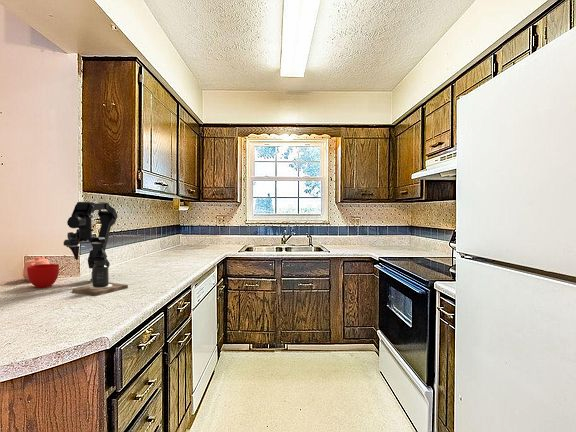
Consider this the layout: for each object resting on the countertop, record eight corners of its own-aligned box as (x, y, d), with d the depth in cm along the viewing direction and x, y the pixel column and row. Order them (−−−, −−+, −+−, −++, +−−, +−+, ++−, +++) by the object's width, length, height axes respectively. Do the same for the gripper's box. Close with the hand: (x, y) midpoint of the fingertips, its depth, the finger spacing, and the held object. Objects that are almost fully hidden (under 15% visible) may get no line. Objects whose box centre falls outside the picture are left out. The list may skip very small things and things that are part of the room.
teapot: (44, 282, 192) (44, 258, 192) (17, 283, 189) (17, 259, 189) (56, 275, 212) (55, 254, 211) (31, 276, 208) (31, 254, 208)
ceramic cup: (50, 281, 194) (50, 262, 194) (63, 286, 183) (63, 265, 183) (21, 285, 184) (20, 265, 184) (32, 290, 173) (32, 269, 173)
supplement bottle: (111, 284, 178) (111, 259, 178) (103, 287, 172) (103, 261, 171) (98, 284, 179) (97, 259, 179) (89, 287, 172) (88, 261, 172)
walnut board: (105, 284, 187) (104, 281, 186) (127, 287, 179) (127, 284, 179) (72, 291, 171) (72, 287, 171) (95, 295, 164) (95, 291, 164)
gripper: (91, 225, 197) (91, 255, 198) (56, 227, 180) (56, 260, 181) (106, 226, 192) (106, 256, 193) (70, 228, 175) (71, 261, 176)
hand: (85, 258), depth 186 cm, fingers open, 9 cm apart
